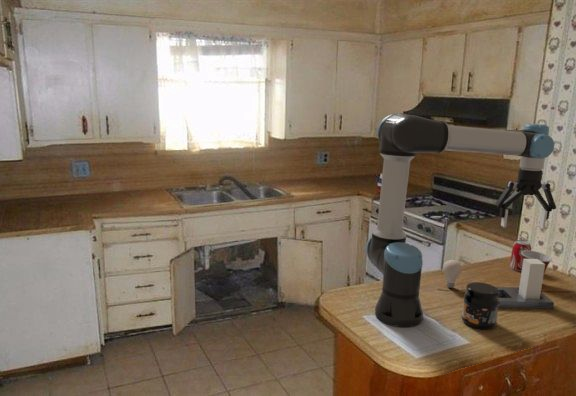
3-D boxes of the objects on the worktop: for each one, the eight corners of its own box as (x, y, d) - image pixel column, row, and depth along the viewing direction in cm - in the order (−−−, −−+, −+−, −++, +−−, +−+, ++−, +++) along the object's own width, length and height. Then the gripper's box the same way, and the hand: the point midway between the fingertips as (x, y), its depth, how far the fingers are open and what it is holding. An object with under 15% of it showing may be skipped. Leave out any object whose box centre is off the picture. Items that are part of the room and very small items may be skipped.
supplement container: (453, 317, 150) (457, 283, 147) (479, 312, 154) (483, 279, 151) (477, 333, 140) (482, 297, 138) (503, 327, 144) (508, 292, 141)
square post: (524, 303, 161) (530, 263, 158) (517, 297, 166) (523, 258, 163) (538, 304, 161) (545, 264, 158) (531, 298, 166) (537, 259, 163)
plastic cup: (549, 291, 172) (554, 261, 169) (517, 286, 176) (522, 256, 173) (545, 280, 182) (550, 252, 179) (515, 276, 186) (519, 248, 183)
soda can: (512, 271, 191) (516, 244, 188) (507, 265, 198) (511, 239, 195) (530, 273, 190) (534, 245, 187) (524, 266, 196) (528, 240, 194)
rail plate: (489, 307, 158) (489, 300, 157) (475, 292, 169) (476, 286, 169) (553, 309, 158) (554, 302, 157) (535, 294, 169) (536, 287, 169)
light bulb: (463, 288, 173) (466, 261, 170) (452, 292, 169) (455, 264, 166) (448, 282, 178) (451, 256, 175) (437, 286, 174) (440, 259, 172)
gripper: (561, 168, 163) (552, 225, 168) (490, 166, 164) (483, 222, 169) (573, 171, 156) (563, 231, 161) (499, 169, 157) (491, 228, 162)
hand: (522, 227), depth 165 cm, fingers open, 13 cm apart
